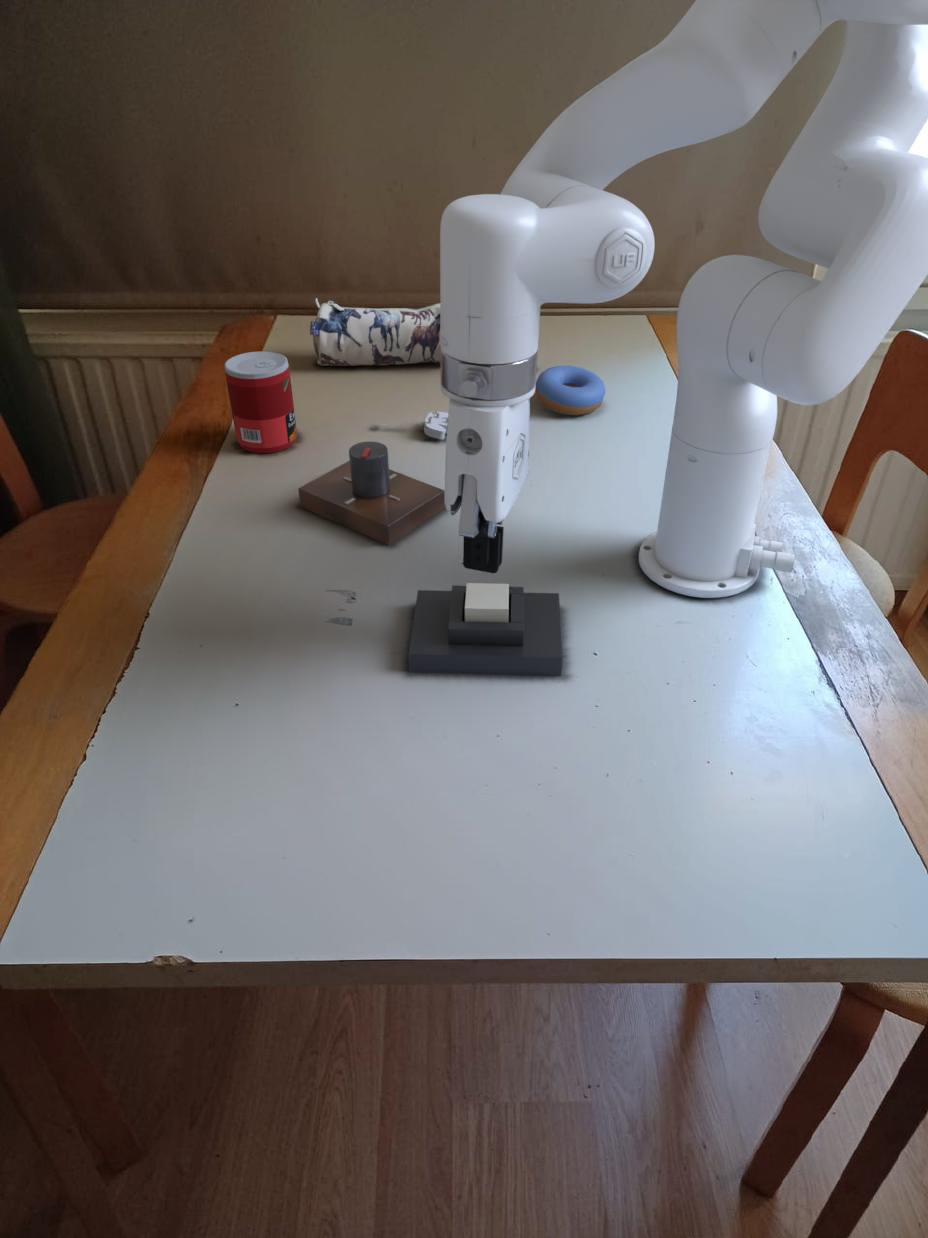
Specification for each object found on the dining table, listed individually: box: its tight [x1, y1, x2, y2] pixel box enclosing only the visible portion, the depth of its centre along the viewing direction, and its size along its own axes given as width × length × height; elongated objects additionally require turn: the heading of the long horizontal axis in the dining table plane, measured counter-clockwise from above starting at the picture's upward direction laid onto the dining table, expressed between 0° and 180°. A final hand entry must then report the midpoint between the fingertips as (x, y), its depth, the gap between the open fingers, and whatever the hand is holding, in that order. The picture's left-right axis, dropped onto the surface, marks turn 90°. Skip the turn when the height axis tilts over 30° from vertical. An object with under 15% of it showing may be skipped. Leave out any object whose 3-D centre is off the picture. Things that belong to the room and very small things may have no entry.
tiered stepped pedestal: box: [408, 584, 564, 677], centre depth 86 cm, size 14×10×4 cm
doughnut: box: [534, 365, 606, 416], centre depth 128 cm, size 10×10×5 cm
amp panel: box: [297, 460, 446, 546], centre depth 107 cm, size 14×10×3 cm
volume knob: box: [348, 441, 390, 498], centre depth 104 cm, size 4×4×5 cm
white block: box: [465, 582, 510, 623], centre depth 85 cm, size 4×4×2 cm
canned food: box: [224, 351, 298, 454], centre depth 118 cm, size 8×8×11 cm
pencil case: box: [309, 297, 441, 367], centre depth 140 cm, size 22×8×10 cm, turn 91°
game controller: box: [373, 410, 449, 440], centre depth 122 cm, size 6×12×3 cm, turn 100°
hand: (482, 565), depth 82 cm, fingers closed
